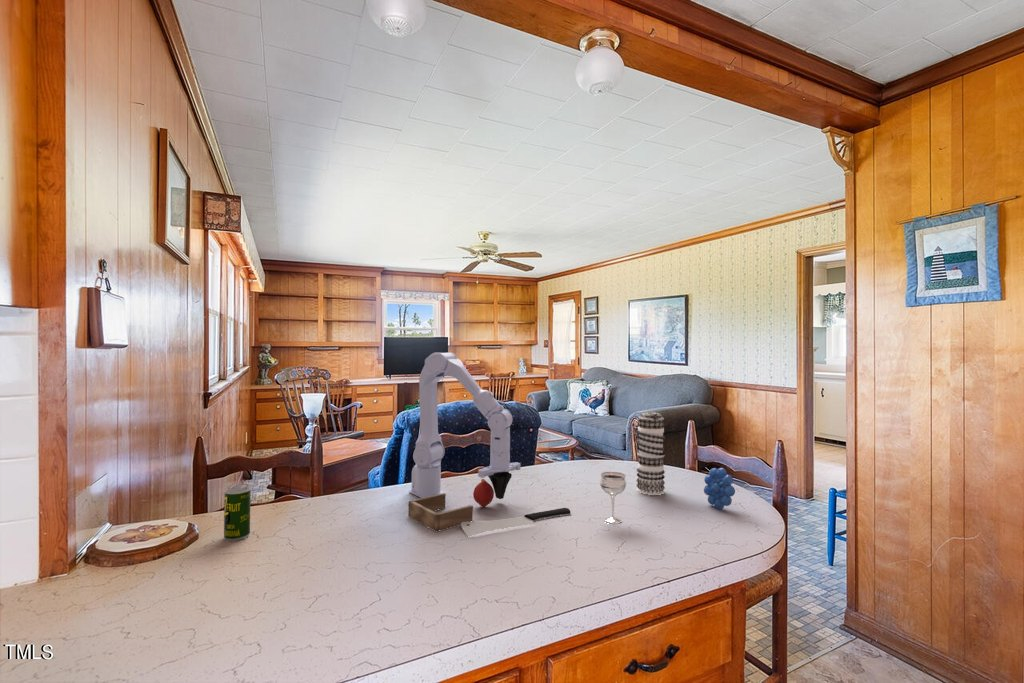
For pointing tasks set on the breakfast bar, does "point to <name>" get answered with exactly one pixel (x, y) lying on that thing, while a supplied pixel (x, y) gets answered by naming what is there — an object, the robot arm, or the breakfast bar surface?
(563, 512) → the kitchen cleaver
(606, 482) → the wineglass
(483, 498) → the onion
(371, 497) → the breakfast bar surface
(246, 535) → the green fruit can
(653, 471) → the striped tall cylinder
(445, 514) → the box
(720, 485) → the grapes
